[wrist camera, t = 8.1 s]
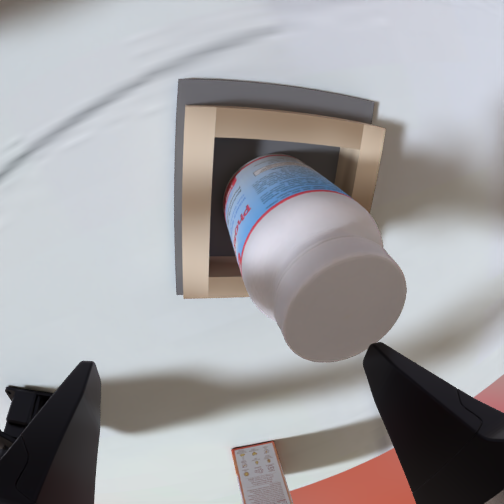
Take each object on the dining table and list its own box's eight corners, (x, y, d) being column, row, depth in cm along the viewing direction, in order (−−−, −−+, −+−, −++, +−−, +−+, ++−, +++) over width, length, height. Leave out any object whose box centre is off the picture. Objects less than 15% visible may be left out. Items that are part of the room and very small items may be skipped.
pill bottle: (205, 175, 18) (226, 283, 9) (301, 137, 18) (420, 200, 9) (243, 257, 21) (288, 396, 12) (327, 222, 21) (424, 332, 12)
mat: (333, 284, 25) (337, 288, 24) (176, 290, 22) (176, 294, 22) (369, 101, 18) (374, 102, 18) (179, 79, 16) (178, 79, 15)
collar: (335, 272, 24) (349, 291, 21) (183, 276, 21) (183, 298, 19) (364, 122, 18) (385, 128, 16) (186, 104, 16) (185, 106, 14)
